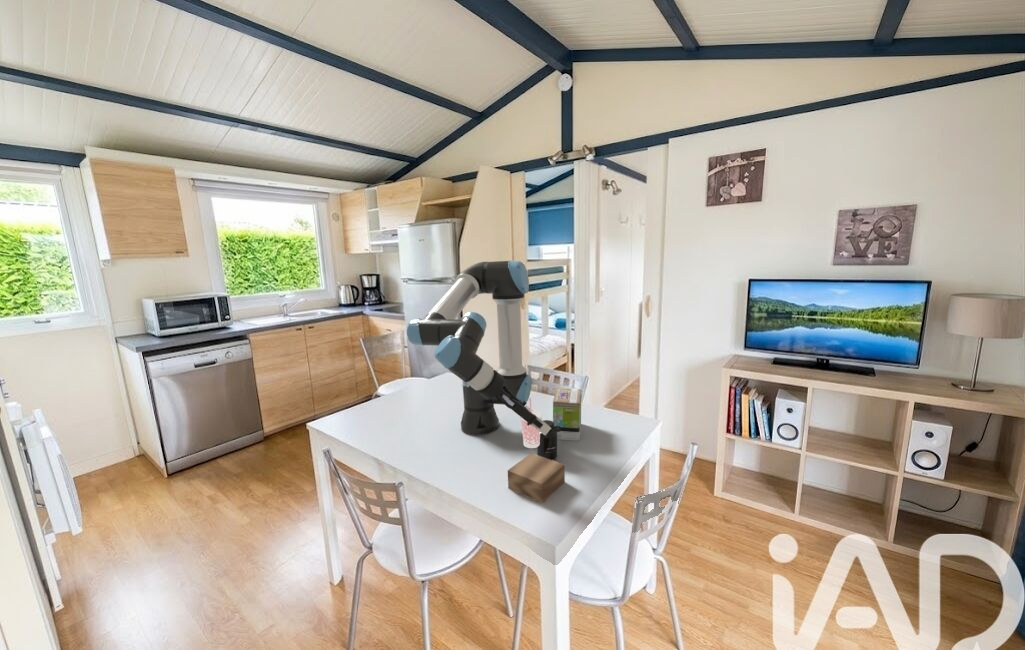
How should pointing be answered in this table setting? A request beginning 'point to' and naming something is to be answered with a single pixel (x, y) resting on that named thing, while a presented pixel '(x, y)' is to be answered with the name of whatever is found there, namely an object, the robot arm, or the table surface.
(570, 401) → the tea box
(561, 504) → the table surface
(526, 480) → the walnut block
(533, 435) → the beverage cup
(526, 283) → the robot arm
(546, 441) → the supplement bottle
